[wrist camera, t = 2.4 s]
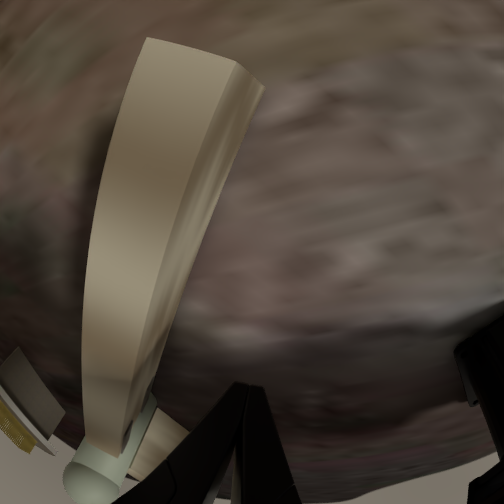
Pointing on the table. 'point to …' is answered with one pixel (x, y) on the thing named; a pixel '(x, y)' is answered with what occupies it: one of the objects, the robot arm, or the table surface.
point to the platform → (27, 405)
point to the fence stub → (156, 444)
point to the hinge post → (103, 465)
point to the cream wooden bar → (154, 221)
